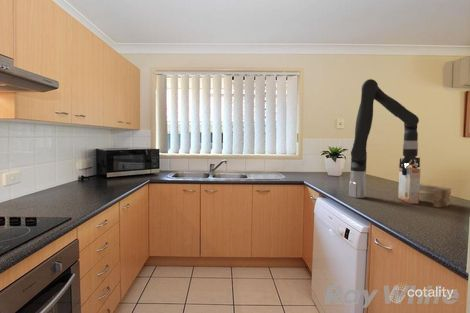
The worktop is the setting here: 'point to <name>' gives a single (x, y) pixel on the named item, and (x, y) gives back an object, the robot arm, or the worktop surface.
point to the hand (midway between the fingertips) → (409, 174)
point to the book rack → (435, 194)
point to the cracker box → (409, 185)
